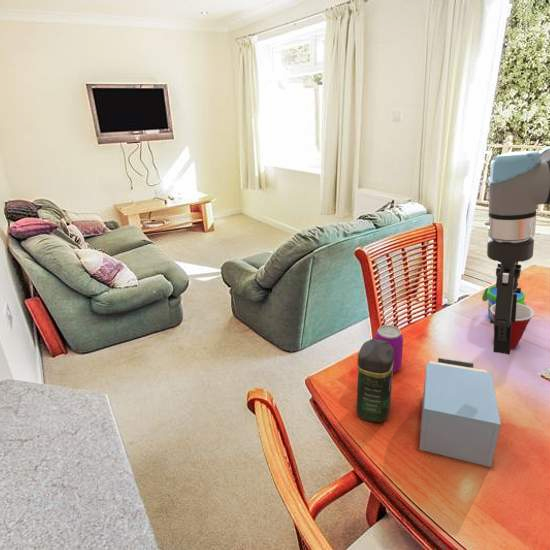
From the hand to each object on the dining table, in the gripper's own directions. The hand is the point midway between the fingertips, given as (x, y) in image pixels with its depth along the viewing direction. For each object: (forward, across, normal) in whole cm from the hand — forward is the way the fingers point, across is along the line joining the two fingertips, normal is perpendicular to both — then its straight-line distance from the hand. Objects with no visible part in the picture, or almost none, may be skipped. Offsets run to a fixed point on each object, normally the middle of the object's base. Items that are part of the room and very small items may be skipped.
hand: (505, 335), depth 78 cm
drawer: (+22, 0, -10) cm, 24 cm away
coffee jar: (+21, +9, -27) cm, 35 cm away
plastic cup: (+23, -36, -2) cm, 43 cm away
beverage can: (+20, -9, -29) cm, 37 cm away
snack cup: (+22, -51, -5) cm, 56 cm away
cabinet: (+23, +6, -9) cm, 25 cm away
